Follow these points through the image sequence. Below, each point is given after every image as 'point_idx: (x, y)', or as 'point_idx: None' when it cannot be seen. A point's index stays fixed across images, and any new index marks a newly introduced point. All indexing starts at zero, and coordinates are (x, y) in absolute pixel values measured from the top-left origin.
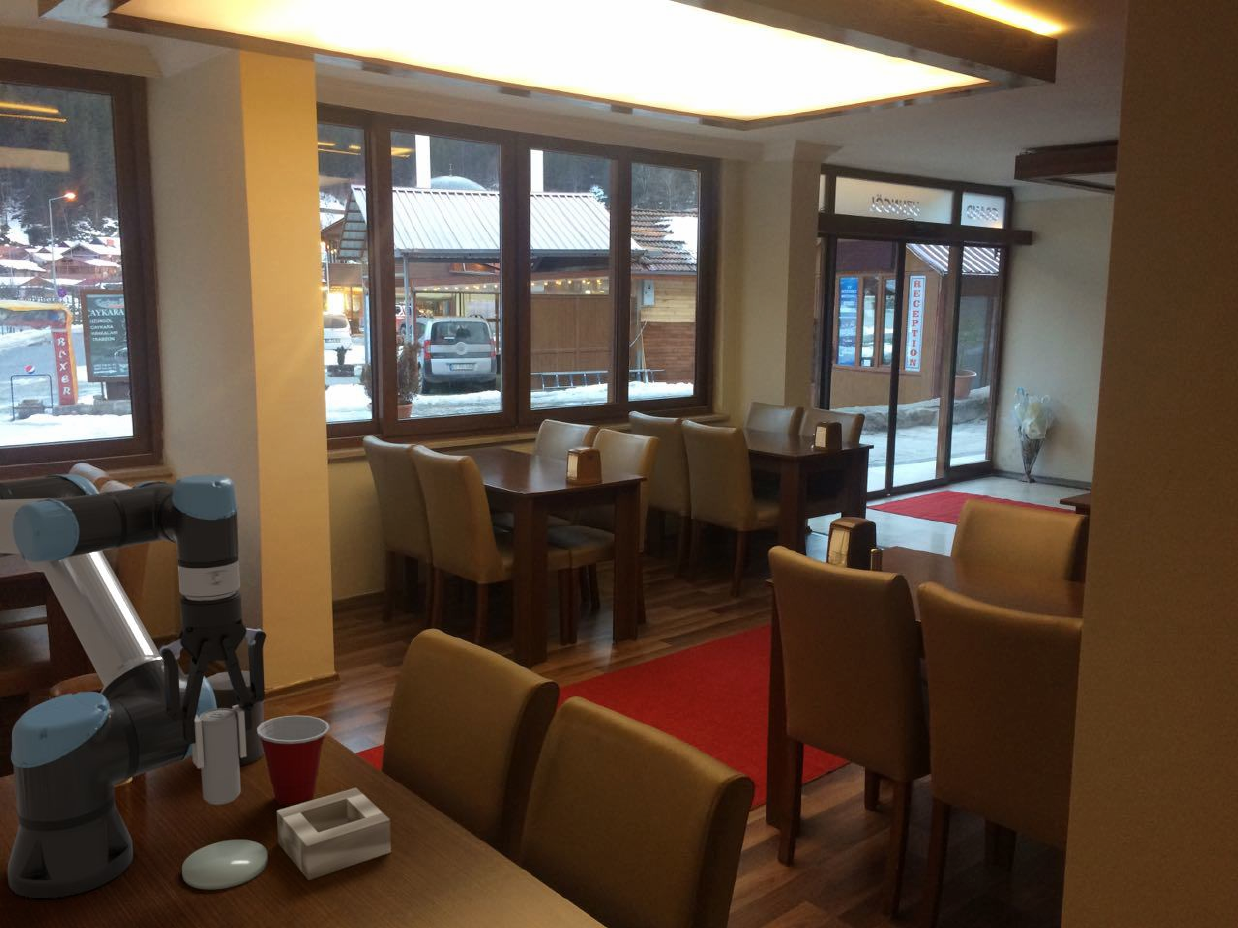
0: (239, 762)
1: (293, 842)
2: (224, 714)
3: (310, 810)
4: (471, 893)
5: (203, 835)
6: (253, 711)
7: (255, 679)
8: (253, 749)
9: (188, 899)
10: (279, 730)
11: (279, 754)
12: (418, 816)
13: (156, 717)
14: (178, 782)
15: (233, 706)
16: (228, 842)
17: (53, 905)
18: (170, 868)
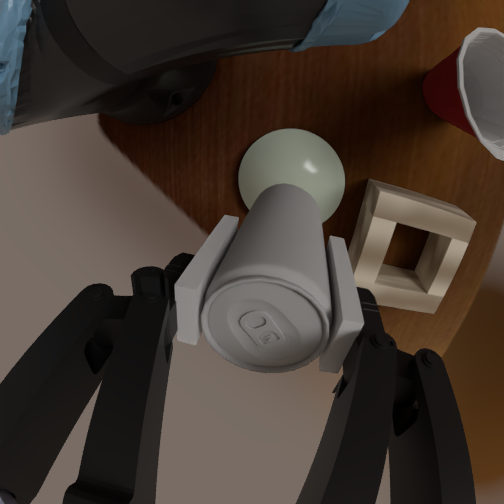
0: None
1: (357, 246)
2: (287, 338)
3: (409, 224)
4: None
5: (307, 82)
6: None
7: (391, 465)
8: None
9: (229, 213)
10: (491, 45)
11: (458, 111)
12: (482, 254)
13: (163, 25)
14: None
15: (344, 323)
16: (316, 142)
17: (123, 127)
18: (239, 132)
